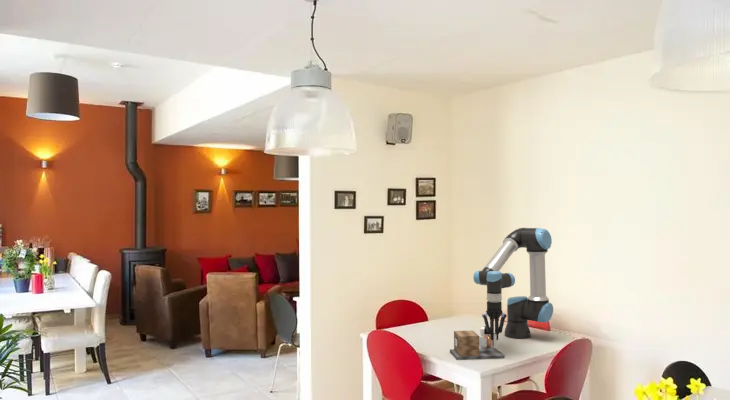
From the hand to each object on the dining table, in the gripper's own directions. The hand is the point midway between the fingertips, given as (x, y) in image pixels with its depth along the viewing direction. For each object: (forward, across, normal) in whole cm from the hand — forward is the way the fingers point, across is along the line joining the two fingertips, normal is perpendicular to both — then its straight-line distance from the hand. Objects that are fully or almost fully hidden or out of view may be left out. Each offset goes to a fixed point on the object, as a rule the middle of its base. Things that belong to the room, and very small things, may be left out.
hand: (494, 346), depth 284 cm
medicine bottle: (+5, -1, +11) cm, 12 cm away
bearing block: (+5, -9, 0) cm, 10 cm away
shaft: (+1, -12, 0) cm, 12 cm away
